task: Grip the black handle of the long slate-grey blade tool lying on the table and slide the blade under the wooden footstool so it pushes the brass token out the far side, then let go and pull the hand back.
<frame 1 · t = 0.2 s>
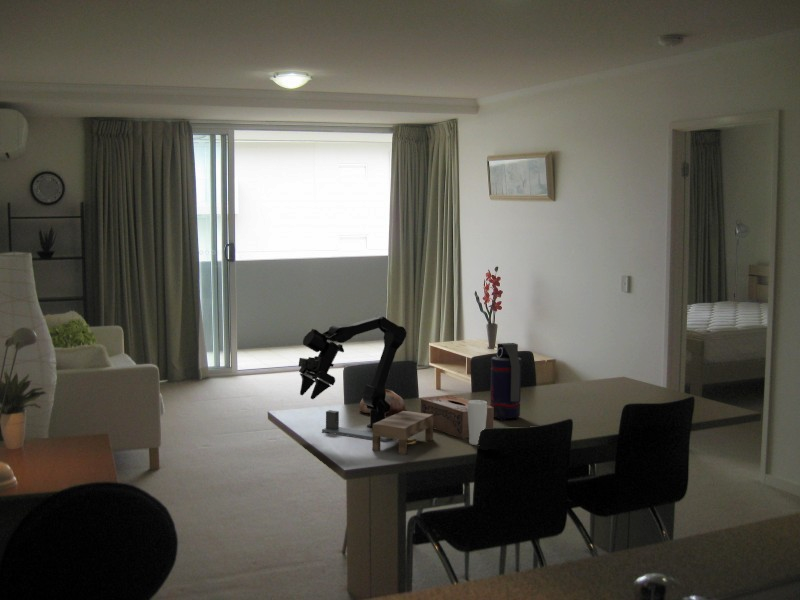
hand: (306, 396, 296), 15 cm above the table, tool tilted 30°, fingers open, 9 cm apart
blade tool: (357, 435, 301), on the table
drinking glass: (476, 444, 291), on the table
tissue box cover: (456, 429, 313), on the table
bread: (382, 411, 341), on the table
brass token: (407, 443, 292), on the table
wooden footstool: (403, 444, 289), on the table
grenade: (506, 418, 331), on the table
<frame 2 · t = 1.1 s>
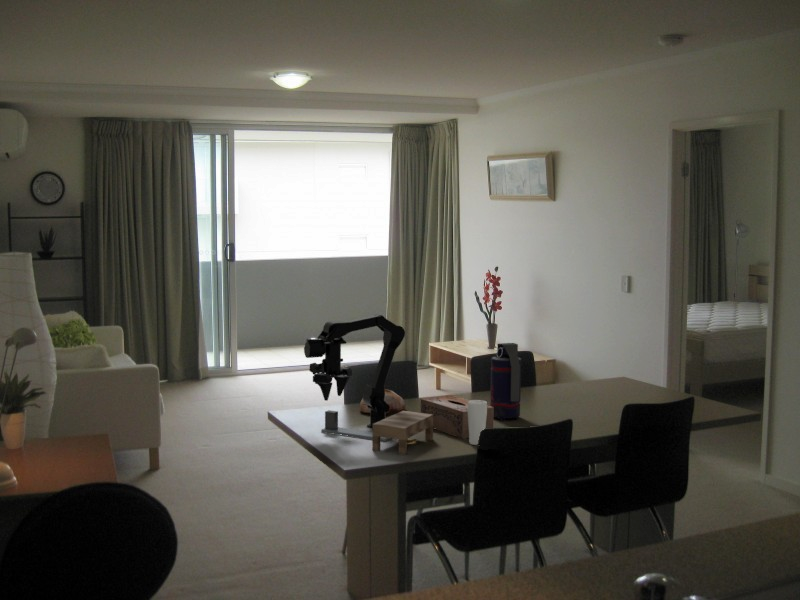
hand: (332, 398, 305), 12 cm above the table, tool pointing down, fingers open, 9 cm apart
nothing on the table moved.
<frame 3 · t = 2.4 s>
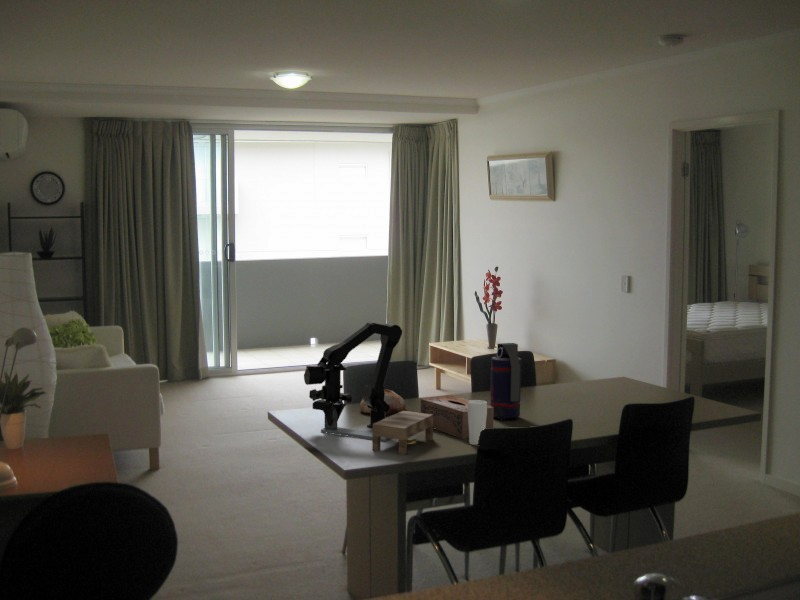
hand: (332, 424, 306), 3 cm above the table, tool pointing down, fingers open, 3 cm apart
blade tool: (356, 435, 301), on the table, touching gripper
everything else where it was.
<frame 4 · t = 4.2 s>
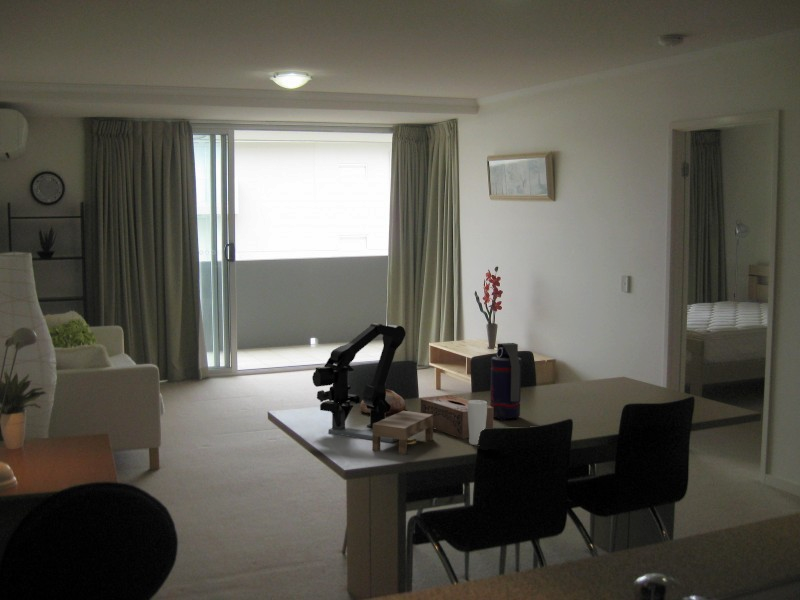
hand: (340, 425, 305), 2 cm above the table, tool pointing down, fingers closed on blade tool, 2 cm apart
blade tool: (364, 435, 300), on the table, touching gripper
everything else where it was.
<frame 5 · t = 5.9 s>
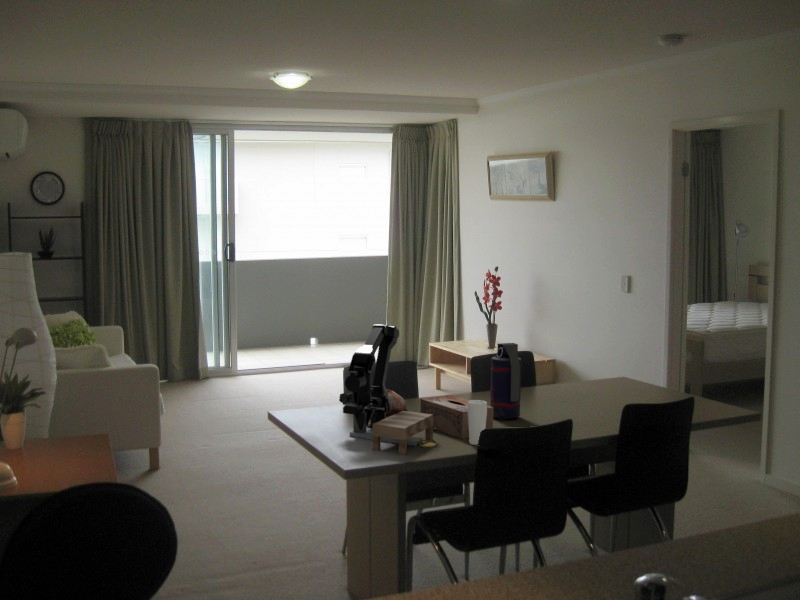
hand: (362, 428, 300), 3 cm above the table, tool pointing down, fingers closed on blade tool, 2 cm apart
blade tool: (385, 439, 296), on the table, touching gripper
brass token: (427, 445, 289), on the table
everything else where it was.
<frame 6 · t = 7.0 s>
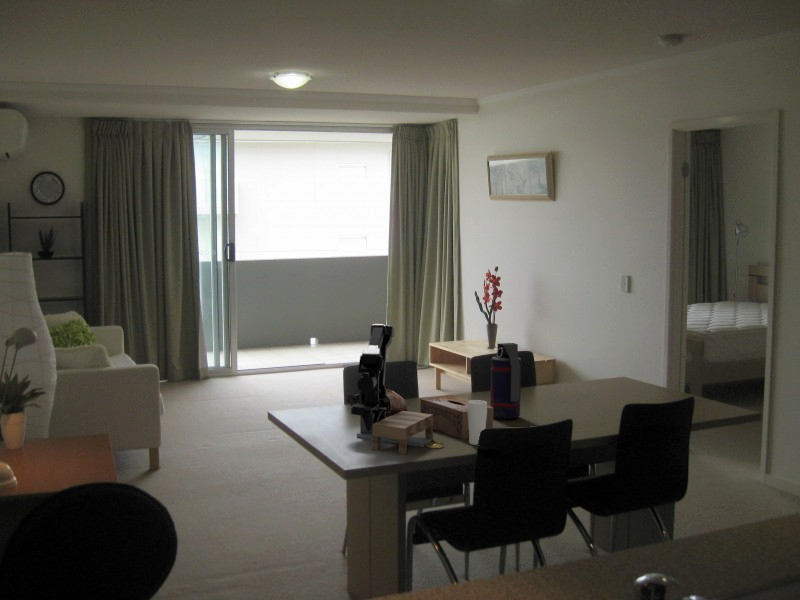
hand: (370, 429, 299), 2 cm above the table, tool pointing down, fingers closed on blade tool, 2 cm apart
blade tool: (393, 440, 295), on the table, touching gripper
brass token: (435, 447, 288), on the table
everything else where it was.
when the fingers open (2 cm above the table, at t = 7.1 s): blade tool stays where it is, on the table.
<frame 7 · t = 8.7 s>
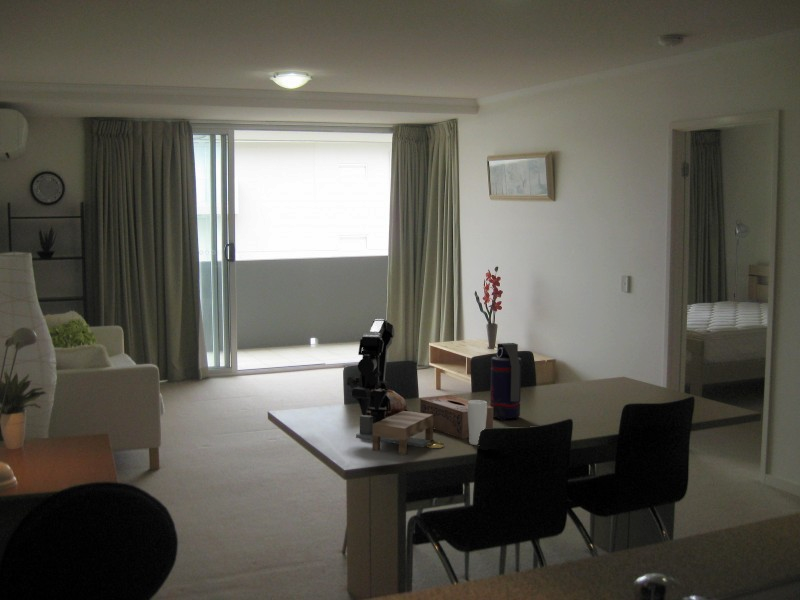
hand: (370, 412, 298), 9 cm above the table, tool pointing down, fingers open, 9 cm apart
blade tool: (392, 441, 295), on the table
everything else where it was.
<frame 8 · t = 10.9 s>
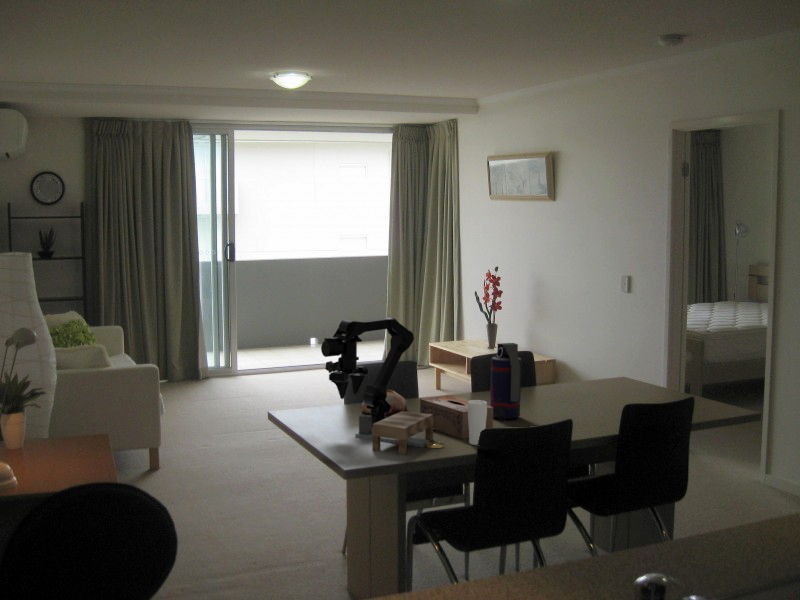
hand: (348, 396, 305), 13 cm above the table, tool pointing down, fingers open, 9 cm apart
nothing on the table moved.
at the end: brass token inside the target area (5.0 cm from its centre), on the table; the gripper is holding nothing; blade tool moved 14.0 cm from its start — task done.
